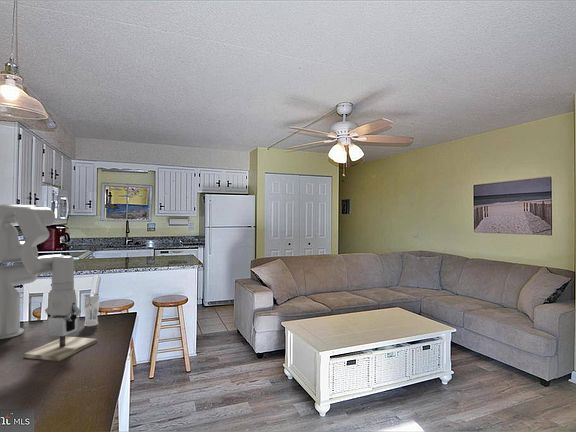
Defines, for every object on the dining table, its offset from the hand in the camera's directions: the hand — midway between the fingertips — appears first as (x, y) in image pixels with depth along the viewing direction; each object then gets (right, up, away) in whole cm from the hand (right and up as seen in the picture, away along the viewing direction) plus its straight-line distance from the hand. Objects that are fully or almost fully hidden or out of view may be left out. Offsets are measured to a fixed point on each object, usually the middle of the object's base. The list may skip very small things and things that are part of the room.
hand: (62, 329), depth 136 cm
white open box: (0, -1, 0) cm, 1 cm away
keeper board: (0, -8, 0) cm, 8 cm away
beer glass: (-7, -8, +31) cm, 33 cm away
